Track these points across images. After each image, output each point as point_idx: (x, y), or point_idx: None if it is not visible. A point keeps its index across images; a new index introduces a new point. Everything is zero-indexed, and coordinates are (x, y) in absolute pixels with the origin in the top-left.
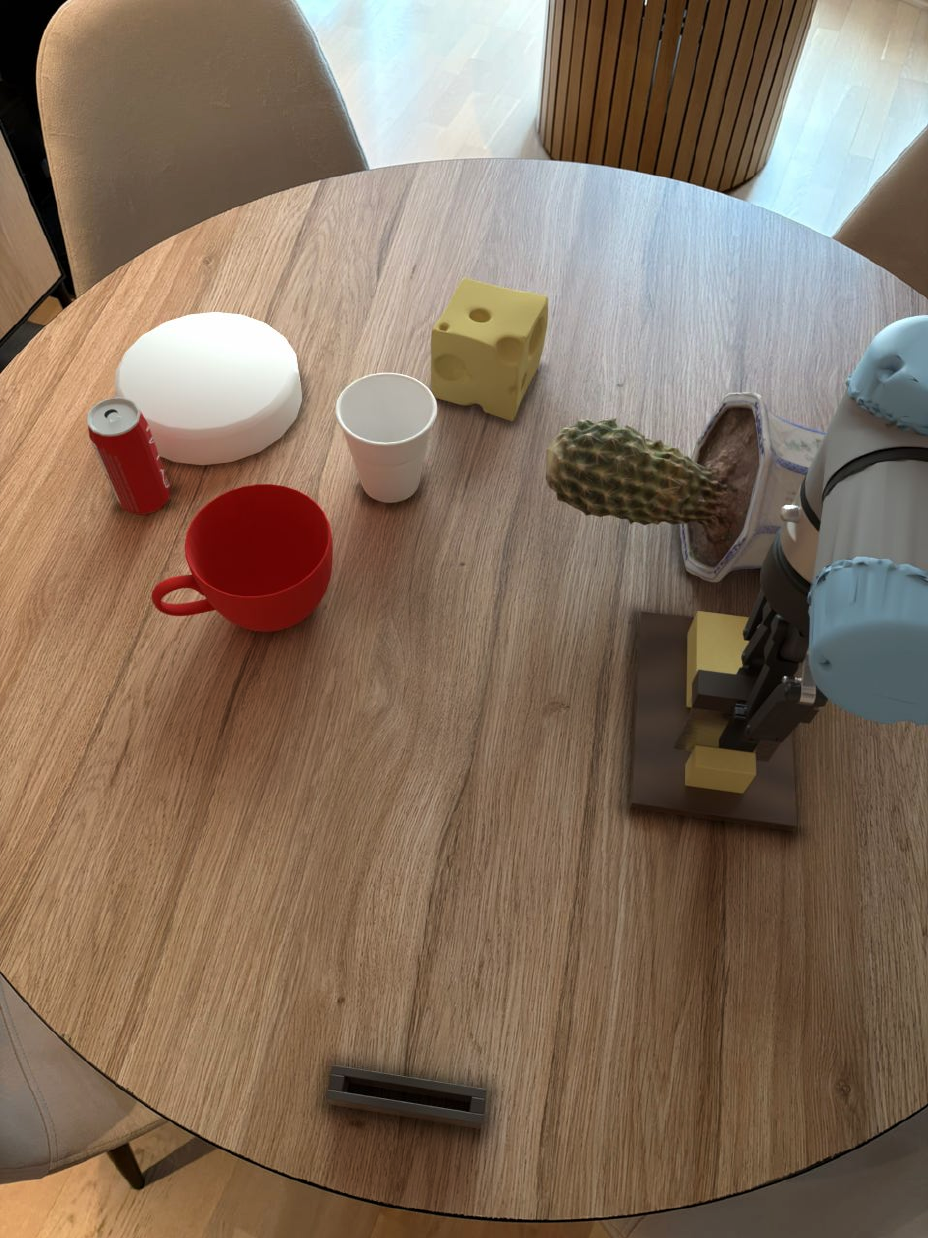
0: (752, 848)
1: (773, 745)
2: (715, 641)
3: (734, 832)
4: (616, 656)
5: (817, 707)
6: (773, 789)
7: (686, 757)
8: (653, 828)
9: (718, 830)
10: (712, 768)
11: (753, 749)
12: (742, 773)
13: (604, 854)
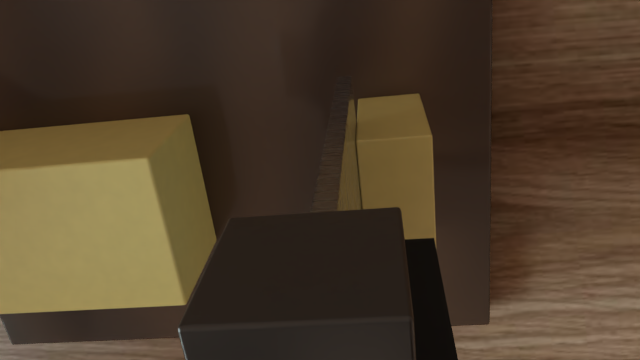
0: (547, 39)
1: (349, 128)
2: (23, 270)
3: (508, 87)
4: (140, 355)
5: (388, 334)
6: (388, 11)
7: None
8: (522, 258)
9: (508, 125)
10: None
11: (435, 252)
12: (432, 171)
13: (592, 337)
